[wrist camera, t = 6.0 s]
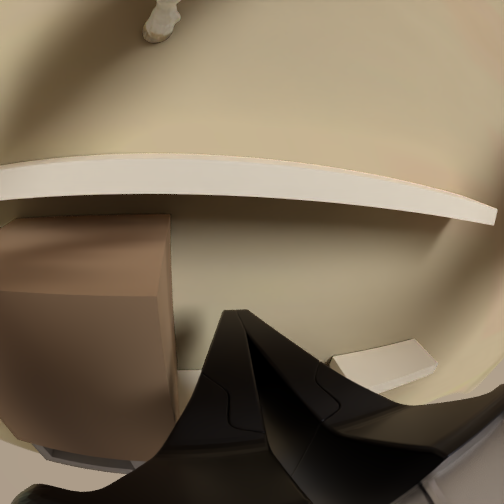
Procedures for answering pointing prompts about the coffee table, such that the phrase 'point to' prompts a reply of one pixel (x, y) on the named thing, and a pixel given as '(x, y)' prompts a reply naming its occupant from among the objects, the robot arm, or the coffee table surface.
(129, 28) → the coffee table surface
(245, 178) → the trap pen
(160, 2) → the bull figurine
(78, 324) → the walnut block
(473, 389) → the coffee table surface
